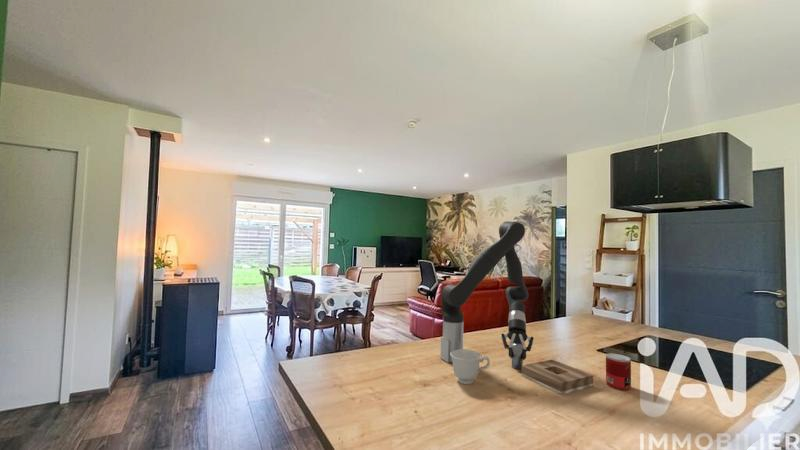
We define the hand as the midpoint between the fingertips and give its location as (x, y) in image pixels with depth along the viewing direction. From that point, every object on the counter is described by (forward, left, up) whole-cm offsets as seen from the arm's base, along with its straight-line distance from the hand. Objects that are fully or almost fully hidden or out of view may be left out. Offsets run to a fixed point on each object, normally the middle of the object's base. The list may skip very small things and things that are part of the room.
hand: (517, 358), depth 140 cm
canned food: (+23, -28, -5) cm, 36 cm away
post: (+1, +1, -5) cm, 5 cm away
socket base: (+5, -15, -5) cm, 16 cm away
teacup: (-27, -2, -5) cm, 27 cm away
